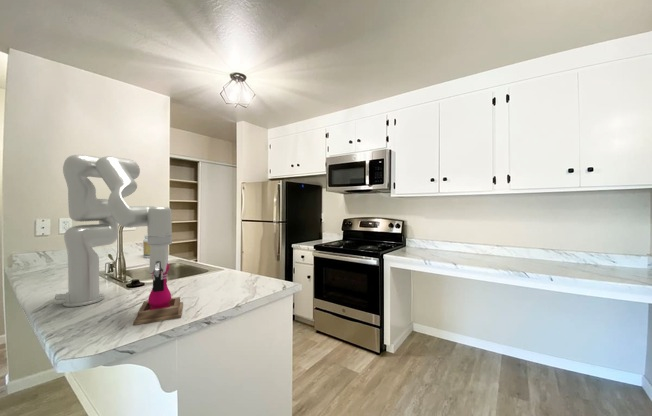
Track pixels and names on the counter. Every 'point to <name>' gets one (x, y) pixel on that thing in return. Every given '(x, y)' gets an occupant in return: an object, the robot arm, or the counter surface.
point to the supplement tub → (146, 247)
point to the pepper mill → (160, 295)
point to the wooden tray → (159, 312)
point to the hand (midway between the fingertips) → (160, 287)
